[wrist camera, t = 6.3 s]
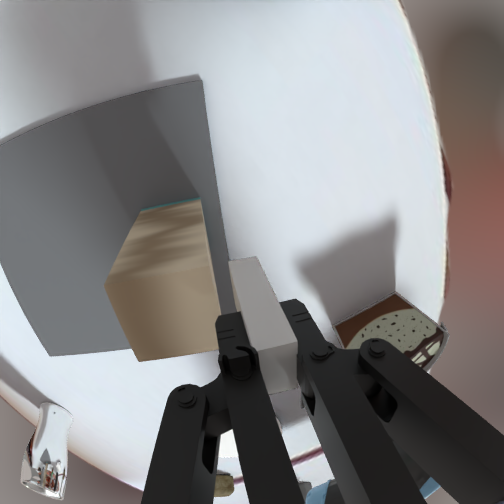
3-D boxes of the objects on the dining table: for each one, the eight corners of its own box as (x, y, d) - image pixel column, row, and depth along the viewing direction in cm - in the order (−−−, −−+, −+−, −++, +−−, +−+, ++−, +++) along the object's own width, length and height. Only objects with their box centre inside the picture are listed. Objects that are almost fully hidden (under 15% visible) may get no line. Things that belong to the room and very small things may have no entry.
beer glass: (33, 395, 30) (11, 474, 16) (72, 406, 32) (57, 492, 18) (43, 418, 32) (28, 490, 19) (79, 428, 34) (69, 504, 21)
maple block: (200, 197, 23) (209, 265, 12) (210, 252, 25) (227, 347, 15) (141, 209, 22) (103, 285, 12) (155, 262, 25) (138, 361, 14)
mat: (202, 80, 19) (202, 80, 19) (240, 326, 30) (241, 329, 30) (-27, 161, 16) (-29, 162, 16) (51, 353, 27) (49, 356, 27)
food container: (329, 359, 36) (361, 416, 27) (320, 330, 33) (357, 392, 24) (405, 318, 36) (446, 363, 27) (404, 286, 33) (452, 332, 24)
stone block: (181, 472, 45) (183, 492, 41) (233, 472, 49) (238, 490, 44) (179, 480, 48) (181, 498, 43) (228, 480, 51) (232, 497, 47)
